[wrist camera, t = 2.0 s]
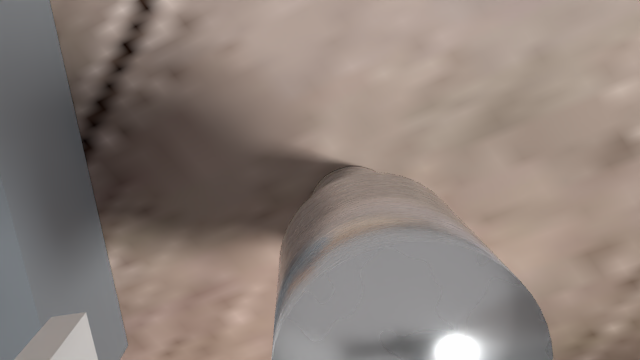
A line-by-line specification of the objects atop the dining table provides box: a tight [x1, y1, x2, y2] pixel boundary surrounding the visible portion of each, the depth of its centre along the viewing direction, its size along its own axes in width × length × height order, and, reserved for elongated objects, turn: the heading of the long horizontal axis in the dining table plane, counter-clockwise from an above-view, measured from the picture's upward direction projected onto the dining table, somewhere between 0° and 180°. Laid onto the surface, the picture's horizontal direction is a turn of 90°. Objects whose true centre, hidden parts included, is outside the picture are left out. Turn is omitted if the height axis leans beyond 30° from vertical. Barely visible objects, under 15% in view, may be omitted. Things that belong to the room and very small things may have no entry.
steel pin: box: [272, 166, 553, 360], centre depth 17 cm, size 6×6×12 cm
